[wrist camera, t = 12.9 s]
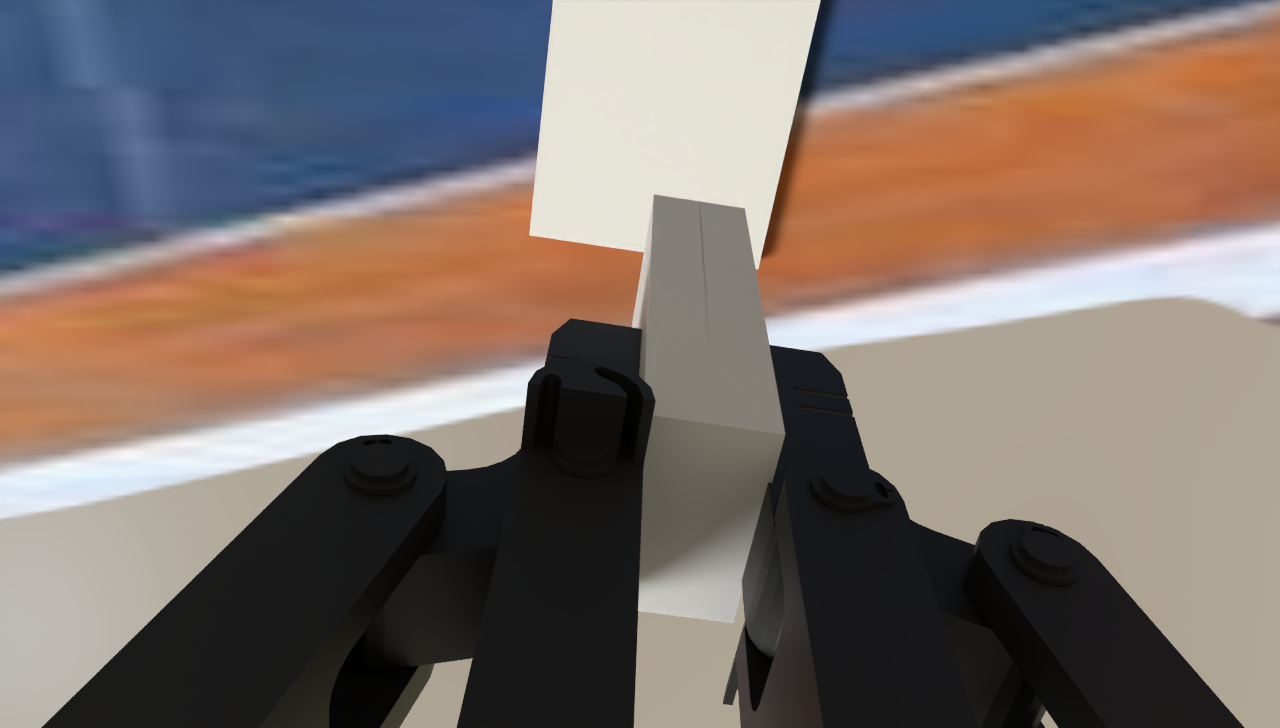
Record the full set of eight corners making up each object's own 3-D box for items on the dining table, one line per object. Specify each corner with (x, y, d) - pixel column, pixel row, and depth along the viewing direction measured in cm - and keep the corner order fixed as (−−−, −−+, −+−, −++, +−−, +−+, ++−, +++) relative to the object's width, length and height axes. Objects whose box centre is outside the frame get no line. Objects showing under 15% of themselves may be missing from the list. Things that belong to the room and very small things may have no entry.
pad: (531, 227, 30) (529, 235, 29) (568, -136, 25) (567, -134, 24) (756, 261, 30) (758, 269, 30) (837, -90, 25) (841, -87, 25)
